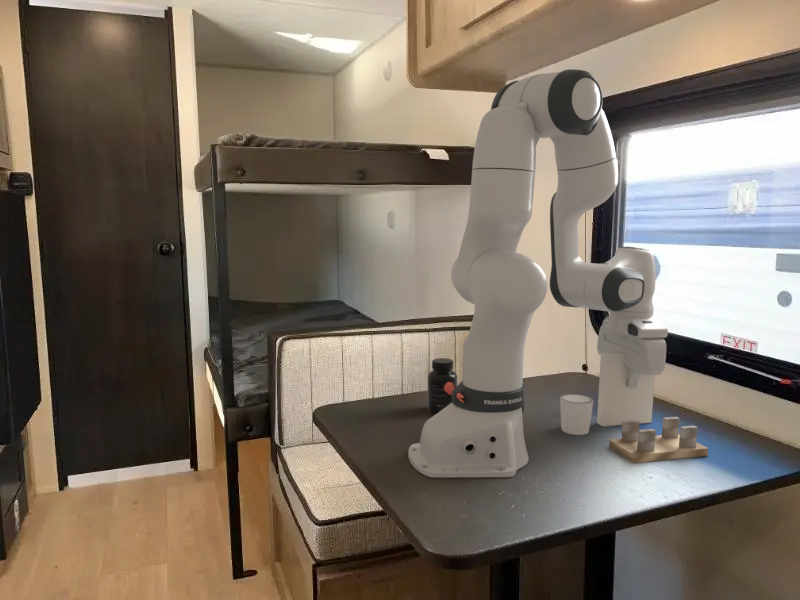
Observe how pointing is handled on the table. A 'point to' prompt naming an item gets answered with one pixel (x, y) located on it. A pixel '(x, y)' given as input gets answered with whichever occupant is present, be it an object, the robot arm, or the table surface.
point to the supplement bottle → (440, 384)
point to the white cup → (575, 413)
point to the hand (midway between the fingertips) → (626, 384)
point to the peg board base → (658, 442)
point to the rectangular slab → (622, 393)
